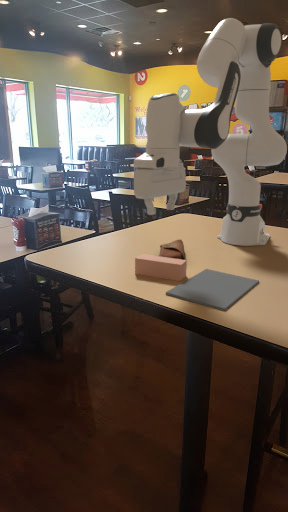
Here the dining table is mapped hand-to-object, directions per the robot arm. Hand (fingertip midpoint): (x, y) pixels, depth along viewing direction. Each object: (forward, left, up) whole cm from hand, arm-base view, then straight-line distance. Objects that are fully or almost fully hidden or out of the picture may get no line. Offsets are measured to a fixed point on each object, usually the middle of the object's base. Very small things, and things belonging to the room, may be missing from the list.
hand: (161, 212), depth 103 cm
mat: (0, +17, -18) cm, 25 cm away
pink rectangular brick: (0, 0, -19) cm, 19 cm away
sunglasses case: (-15, -8, -19) cm, 26 cm away
